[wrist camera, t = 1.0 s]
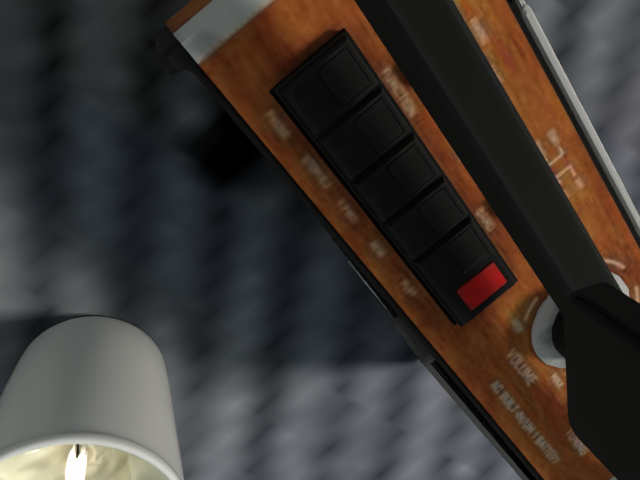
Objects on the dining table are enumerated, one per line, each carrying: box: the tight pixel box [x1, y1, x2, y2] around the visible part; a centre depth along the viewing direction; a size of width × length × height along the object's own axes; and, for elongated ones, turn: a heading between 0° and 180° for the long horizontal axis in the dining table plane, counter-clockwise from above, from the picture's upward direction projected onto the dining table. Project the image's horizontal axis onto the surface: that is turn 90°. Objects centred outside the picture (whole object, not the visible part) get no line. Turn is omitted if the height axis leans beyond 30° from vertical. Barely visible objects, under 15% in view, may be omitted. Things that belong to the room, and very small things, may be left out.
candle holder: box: [0, 316, 184, 480], centre depth 30 cm, size 10×10×12 cm
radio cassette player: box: [155, 0, 640, 480], centre depth 27 cm, size 29×10×20 cm, turn 38°
